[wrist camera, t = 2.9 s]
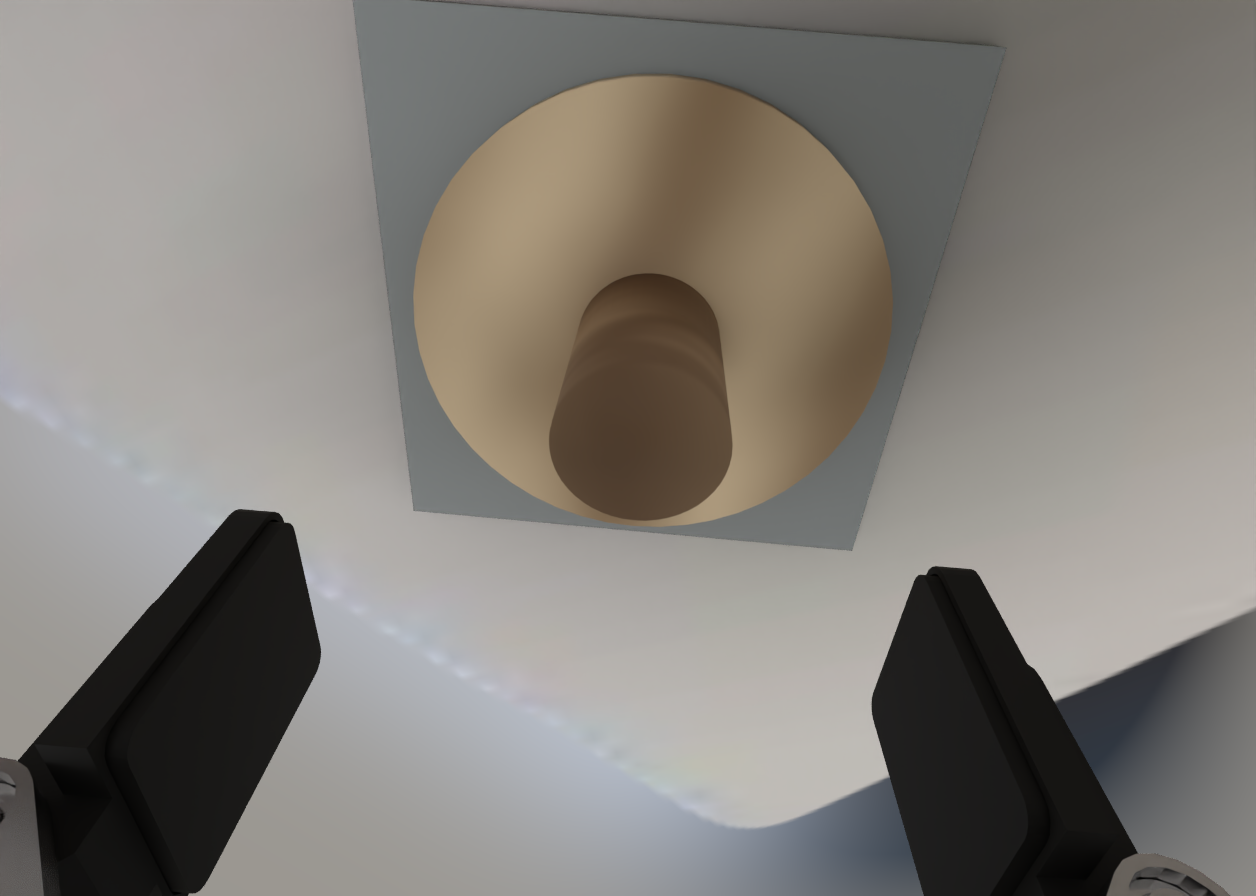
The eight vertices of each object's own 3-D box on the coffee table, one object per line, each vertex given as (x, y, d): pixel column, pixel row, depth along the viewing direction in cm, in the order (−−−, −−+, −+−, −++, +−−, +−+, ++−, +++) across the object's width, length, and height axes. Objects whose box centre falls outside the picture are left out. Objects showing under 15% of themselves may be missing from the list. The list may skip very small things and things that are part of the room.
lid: (943, 93, 16) (1067, 144, 11) (828, 521, 22) (872, 677, 17) (400, 54, 16) (273, 88, 11) (444, 490, 23) (376, 636, 18)
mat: (996, 45, 16) (1006, 47, 15) (848, 538, 23) (851, 550, 23) (362, -5, 16) (352, -5, 16) (419, 499, 24) (413, 510, 23)
